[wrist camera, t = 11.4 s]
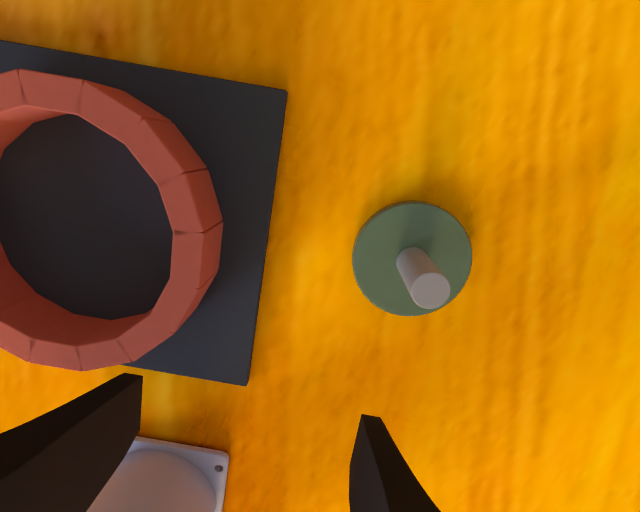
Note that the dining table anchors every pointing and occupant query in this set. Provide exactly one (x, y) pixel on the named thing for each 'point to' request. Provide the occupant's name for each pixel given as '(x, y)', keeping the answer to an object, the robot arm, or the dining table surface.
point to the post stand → (411, 258)
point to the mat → (143, 206)
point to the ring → (180, 203)
